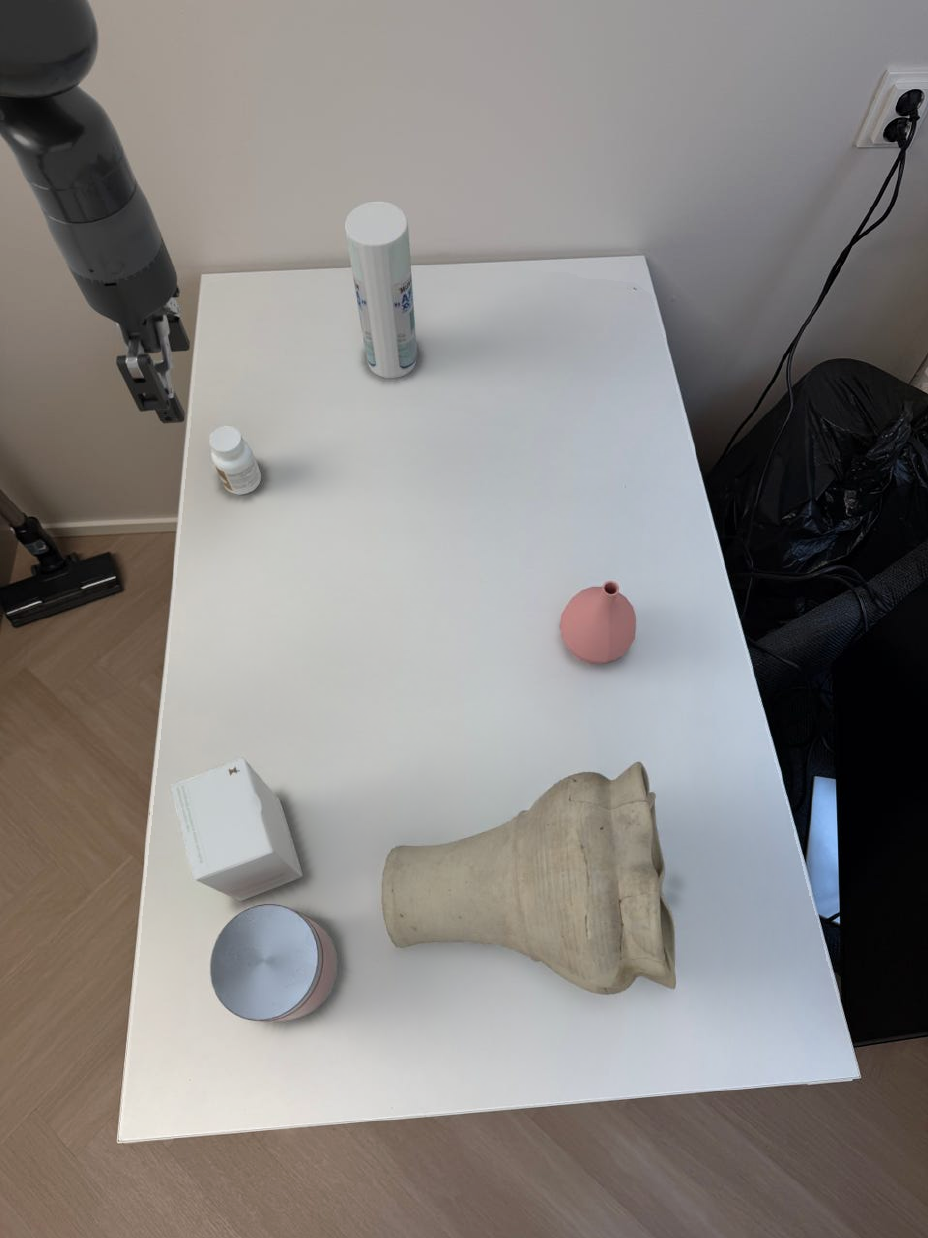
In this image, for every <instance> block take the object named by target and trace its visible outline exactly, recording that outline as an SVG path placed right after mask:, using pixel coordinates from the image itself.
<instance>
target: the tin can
mask: <svg viewBox="0 0 928 1238" xmlns="http://www.w3.org/2000/svg"><path fill="white" fill-rule="evenodd" d="M338 972H339V956H338V952H337V948H336V946H335V943H334V941H333V939H332V937H331V936H330V934H329V933H328V932H327V931H326V929H324V928H323V927H322V926H321V925H320V924H318V923H317V922H316V921H314V920H312V919H311V918H309V917H307V916H305V915H304V914H302V913H300V912H299V911H296V910H294V909H292V908H290V907H288V906H285V905H281V904H275V903H266V904H265V903H263V904H257V905H254V906H252V907H249V908H247V909H244V910H243V911H241V912H239V913H238V914H236V915H235V916H233V918H231V919H230V920H229V921H228V922H227V923H226V925H225V926H224V927H223V928H222V930H221V931H220V933H219V934H218V936H217V938H216V940H215V941H214V945H213V947H212V950H211V955H210V961H209V978H210V982H211V986H212V989H213V991H214V993H215V996H216V997H217V999H218V1001H219V1002H220V1003H221V1005H222V1006H223V1007H224V1008H225V1009H226V1010H228V1011H229V1012H230V1013H231V1014H233V1015H235V1016H236V1017H239V1018H240V1019H244V1020H247V1021H251V1022H252V1021H253V1022H281V1021H291V1020H296V1019H300V1018H304V1017H306V1016H308V1015H309V1014H311V1013H313V1012H314V1011H316V1010H317V1009H319V1008H320V1007H321V1005H322V1004H323V1003H324V1002H325V1001H326V1000H327V999H328V997H329V996H330V994H331V992H332V991H333V988H334V986H335V984H336V981H337V978H338V977H337V976H338Z"/></svg>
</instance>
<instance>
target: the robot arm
mask: <svg viewBox="0 0 928 1238" xmlns="http://www.w3.org/2000/svg"><path fill="white" fill-rule="evenodd" d="M93 10H94V9H93V8H92V5H91V4H90V2H89V0H0V137H1V138H2V140H3V141H4V143H5V144H6V145H7V147H8V149H10V151H11V153H12V154H13V157H14V158H15V160H16V163H17V165H18V167H19V170H20V172H21V174H22V175H23V177H24V179H25V181H26V183H27V185H28V187H29V188H30V191H31V192H32V195H33V196H34V198H35V200H36V202H37V204H38V206H39V207H40V209H41V212H42V214H43V217H44V219H45V222H46V225H47V229H48V231H49V233H50V235H51V237H52V239H53V241H54V243H55V245H56V246H57V249H58V250H59V252H60V254H61V256H62V258H63V259H64V261H65V264H66V266H67V268H68V269H69V271H70V273H71V275H72V277H73V279H74V280H75V282H76V284H77V286H78V288H79V290H80V292H81V293H82V296H83V297H84V299H85V301H86V302H87V304H88V306H89V307H90V308H91V309H92V310H93V311H95V312H96V313H98V314H99V315H100V316H102V317H105V318H106V319H109V320H110V321H112V322H114V323H116V327H117V331H118V335H119V338H120V339H121V340H122V341H123V344H124V348H125V353H126V354H122V355H120V354H119V355H117V356H116V361H115V363H116V366H117V369H118V371H119V373H120V375H121V377H122V379H123V381H124V383H125V385H126V387H127V389H128V391H129V393H130V395H131V397H132V399H133V401H134V403H135V405H136V406H137V409H138V411H139V412H140V413H141V412H142V413H143V412H151V411H155V414H156V415H157V418H158V420H159V421H160V422H162V423H163V424H176V423H177V424H178V423H183V422H184V421H185V417H186V412H185V410H184V408H183V406H182V404H181V402H180V400H179V398H178V395H177V393H176V391H175V389H174V386H173V381H172V377H171V373H170V371H171V370H172V369H173V368H174V365H175V363H174V359H173V354H172V353H177V352H187V351H190V346H191V341H190V339H189V336H188V334H187V332H186V329H185V327H184V324H183V322H182V320H181V313H182V310H181V307H180V305H179V303H178V302H177V299H176V298H180V293H181V292H180V287H179V285H178V274H177V271H176V268H175V266H174V263H173V261H172V258H171V256H170V253H169V250H168V248H167V245H166V242H165V240H164V237H163V235H162V232H161V230H160V228H159V225H158V223H157V220H156V217H155V215H154V212H153V210H152V207H151V205H150V203H149V201H148V198H147V196H146V195H145V193H144V191H143V190H142V187H141V186H140V184H139V182H138V181H137V179H136V176H135V174H134V172H133V168H132V167H131V165H130V161H129V159H128V157H127V154H126V152H125V149H124V147H123V144H122V142H121V138H120V136H119V134H118V132H117V129H116V127H115V125H114V123H113V121H112V120H111V117H110V115H109V114H108V112H107V111H106V110H105V108H104V107H103V106H102V104H100V103H99V101H97V100H96V99H95V98H94V97H92V95H90V94H89V93H88V92H87V91H85V90H84V89H82V88H81V86H79V85H80V84H81V83H82V82H83V81H84V80H85V79H86V78H87V77H88V75H89V74H90V72H91V71H92V69H93V67H94V65H95V62H96V60H97V56H98V51H99V28H98V24H97V21H96V16H95V13H94V11H93ZM158 353H161V358H162V359H161V360H154V359H152V357H151V355H150V354H158ZM160 377H161V378H160Z"/></svg>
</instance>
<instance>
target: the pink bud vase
mask: <svg viewBox="0 0 928 1238" xmlns="http://www.w3.org/2000/svg"><path fill="white" fill-rule="evenodd" d="M559 631H560V634H561V638H562V641H563V643H564V645H565V646H566V648H567V649H568V651H569V652H570V653H571V655H572V656H574V657H575V658H576V659H578V660H579V661H580V662H584V663H586V664H590V665H604V664H606V663H609V662H613V661H615V660H617V659H619V658H621V657H622V656H623V655H625V654H626V653H627V652H628V651H629V650H630V649H631V646H632V645H633V643H634V641H635V639H636V631H637V615H636V613H635V609H634V606H633V604H632V603H631V601H629V599H628V598H627V596H625V595H624V594H622V593H621V592H620V586H619V584H618V583H617V582H615V581H614V580H608V581H605V582H604V583H603V585H602V586H590V587H588V588H584V589H582V590H580V591H579V592H577V593H576V594H575V595H574V596H573V597H572V598H571V599H570V600H569V601H568V602H567V604H566V606H565V608H564V609H563V611H562V613H561V615H560V619H559Z"/></svg>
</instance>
